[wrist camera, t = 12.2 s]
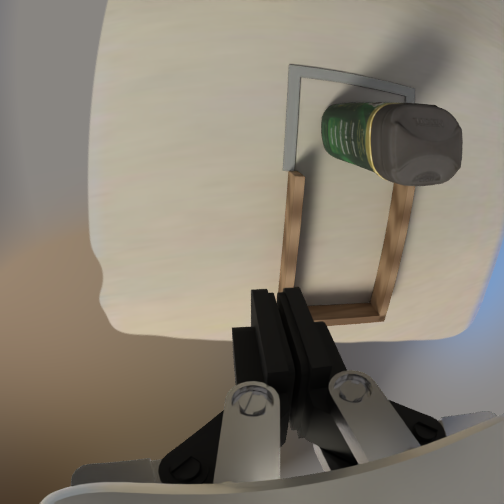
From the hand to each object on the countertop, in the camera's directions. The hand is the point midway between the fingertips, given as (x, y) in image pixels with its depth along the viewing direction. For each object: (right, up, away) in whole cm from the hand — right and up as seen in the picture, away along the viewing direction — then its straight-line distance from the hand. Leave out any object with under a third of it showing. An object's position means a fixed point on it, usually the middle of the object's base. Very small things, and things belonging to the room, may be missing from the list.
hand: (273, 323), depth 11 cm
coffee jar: (+13, +19, +29) cm, 37 cm away
